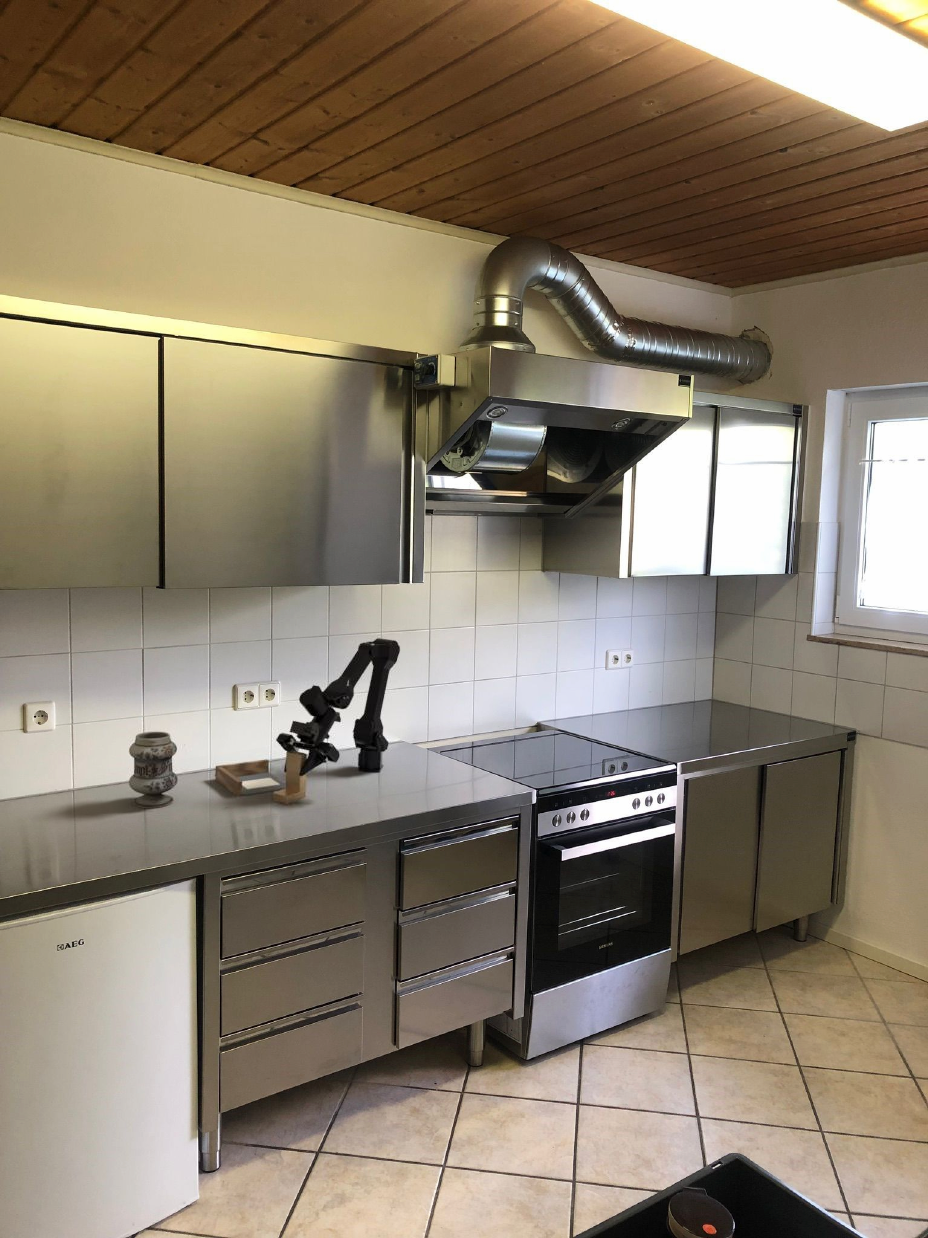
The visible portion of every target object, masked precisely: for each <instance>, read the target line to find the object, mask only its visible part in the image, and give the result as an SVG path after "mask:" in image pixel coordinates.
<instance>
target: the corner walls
mask: <svg viewBox="0 0 928 1238" xmlns="http://www.w3.org/2000/svg"><path fill="white" fill-rule="evenodd" d="M269 764H270V763H269V759H260V760H252V761H246V762H245V761H244V762H236V763H235V762H234V763H228V764H227V763H226V764H221V765H216V766H215V781H216V780H217V781H216V782H218V783H219V784H220V783H221V784H220V785H222V786H223V787H224V786H225V788H226V789H227V790H228V789H229V790H228V791H230V792H231V793H232V792H233V793H232V794H233V795H235V796H236V797H243V796H242V781H241V780H239V779H238V778H237V777H241V776H248V775H255V774H262V773H270V772H269V771H270V770H269Z"/></svg>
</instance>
